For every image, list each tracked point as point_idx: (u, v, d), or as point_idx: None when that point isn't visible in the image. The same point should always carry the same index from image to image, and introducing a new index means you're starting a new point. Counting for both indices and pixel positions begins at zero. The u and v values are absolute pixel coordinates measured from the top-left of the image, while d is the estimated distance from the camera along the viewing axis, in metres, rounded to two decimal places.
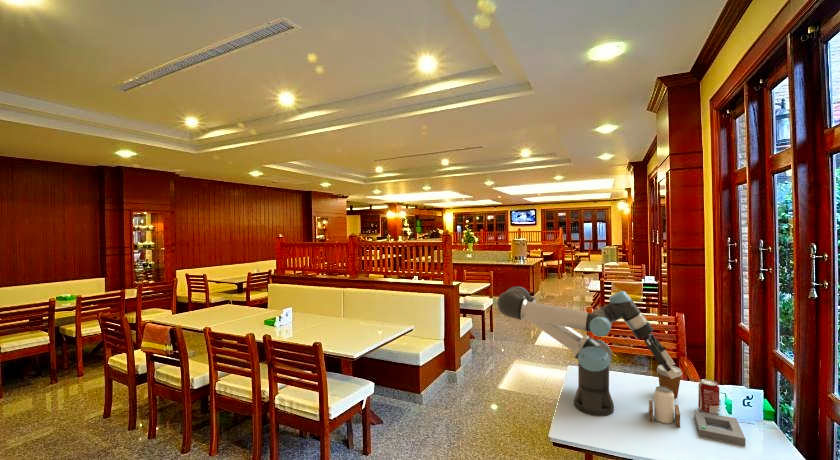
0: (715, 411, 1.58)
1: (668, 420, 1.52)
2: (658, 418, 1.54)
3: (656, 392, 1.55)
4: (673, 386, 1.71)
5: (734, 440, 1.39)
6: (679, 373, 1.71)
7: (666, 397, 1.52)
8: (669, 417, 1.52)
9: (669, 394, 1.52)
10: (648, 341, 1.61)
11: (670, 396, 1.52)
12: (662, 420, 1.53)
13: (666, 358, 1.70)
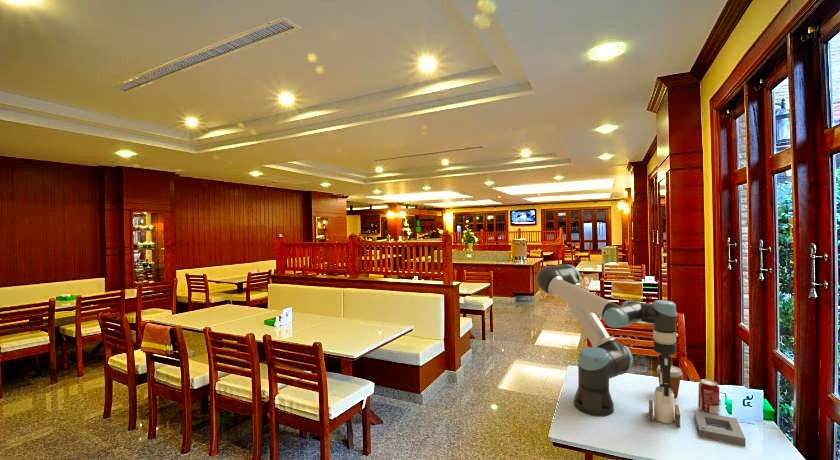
0: (715, 411, 1.58)
1: (668, 420, 1.52)
2: (658, 418, 1.54)
3: (656, 392, 1.55)
4: (673, 386, 1.71)
5: (734, 440, 1.39)
6: (679, 373, 1.71)
7: None
8: (669, 417, 1.52)
9: None
10: (666, 361, 1.48)
11: None
12: (662, 420, 1.53)
13: None
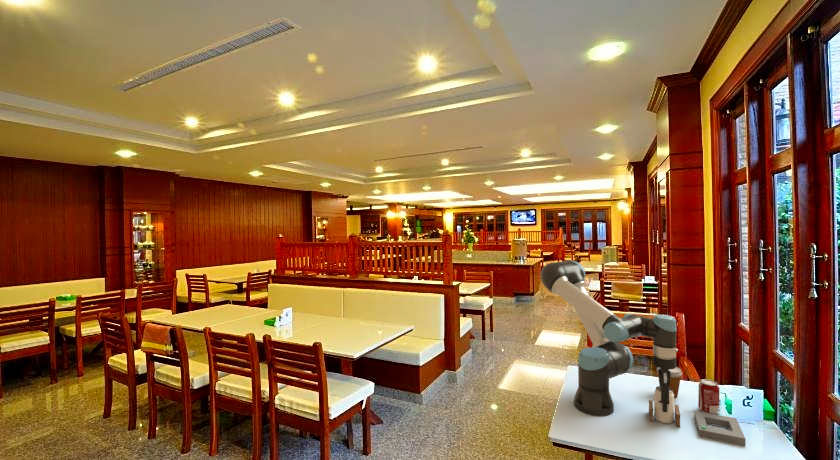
0: (715, 411, 1.58)
1: (668, 420, 1.52)
2: (658, 418, 1.54)
3: (656, 392, 1.55)
4: (673, 386, 1.71)
5: (734, 440, 1.39)
6: (679, 373, 1.71)
7: None
8: (669, 417, 1.52)
9: (669, 394, 1.52)
10: (665, 380, 1.49)
11: (670, 396, 1.52)
12: (662, 420, 1.53)
13: None
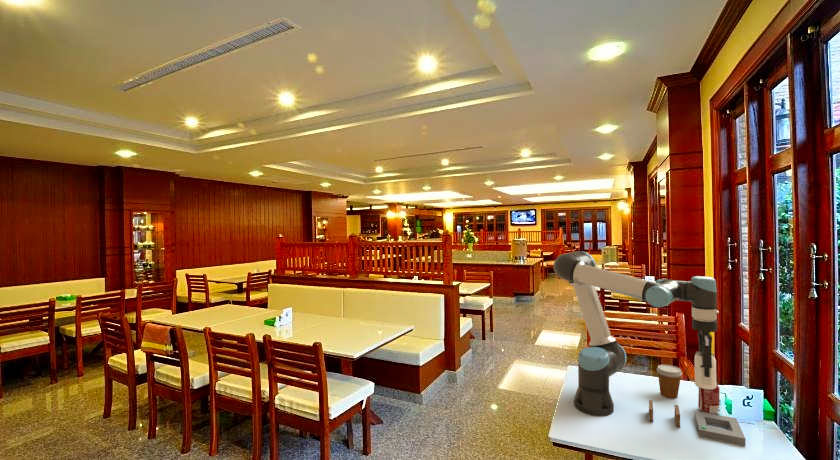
0: (715, 411, 1.58)
1: (711, 385, 1.45)
2: (699, 384, 1.47)
3: (696, 357, 1.48)
4: (673, 386, 1.71)
5: (734, 440, 1.39)
6: (679, 373, 1.71)
7: None
8: (711, 382, 1.45)
9: None
10: (707, 342, 1.42)
11: (712, 360, 1.45)
12: (704, 386, 1.46)
13: None
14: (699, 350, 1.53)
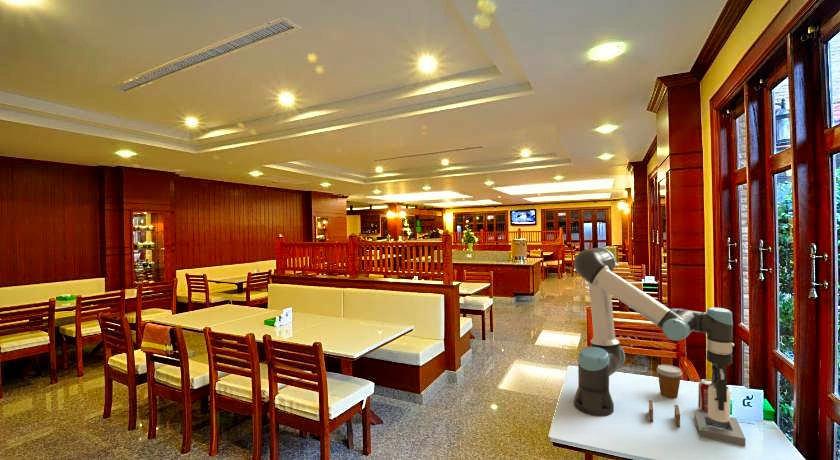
0: None
1: (725, 418, 1.44)
2: (713, 417, 1.46)
3: (710, 389, 1.46)
4: (673, 386, 1.71)
5: (734, 440, 1.39)
6: (679, 373, 1.71)
7: None
8: (725, 415, 1.44)
9: None
10: (722, 376, 1.40)
11: None
12: (718, 419, 1.45)
13: None
14: (712, 381, 1.52)
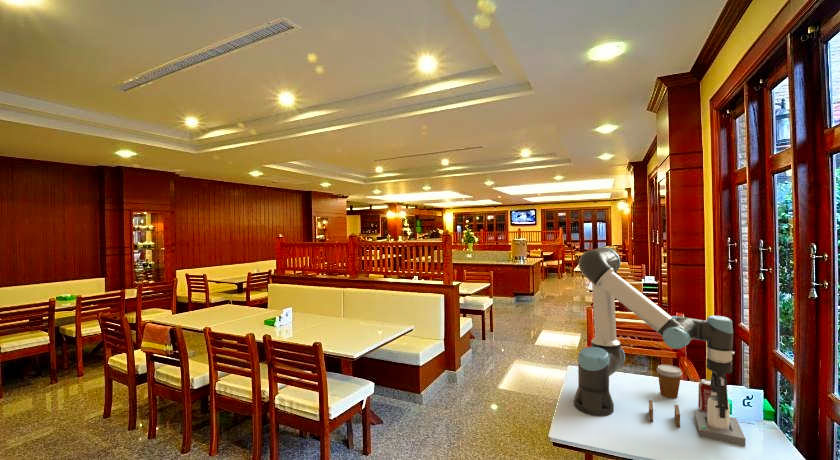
0: None
1: None
2: None
3: (710, 401, 1.47)
4: (673, 386, 1.71)
5: (734, 440, 1.39)
6: (679, 373, 1.71)
7: None
8: (725, 427, 1.44)
9: None
10: (722, 381, 1.40)
11: None
12: None
13: None
14: (711, 383, 1.54)
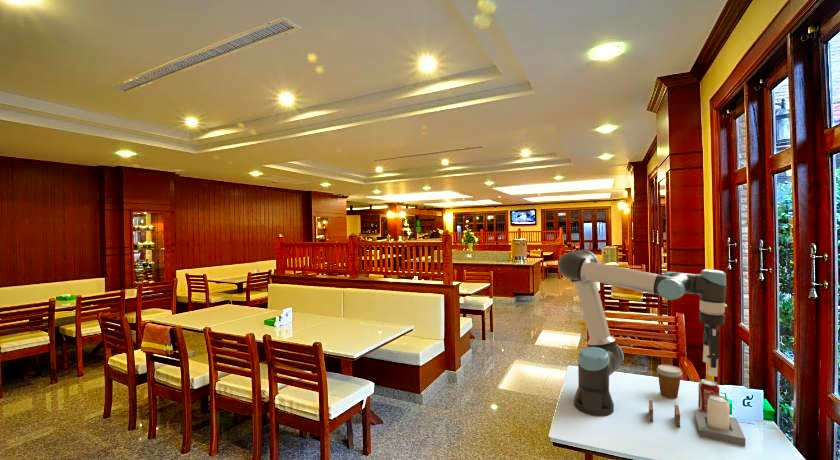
0: None
1: None
2: None
3: (710, 401, 1.47)
4: (673, 386, 1.71)
5: (734, 440, 1.39)
6: (679, 373, 1.71)
7: (722, 407, 1.44)
8: (725, 427, 1.44)
9: (725, 404, 1.44)
10: (714, 331, 1.42)
11: (726, 406, 1.44)
12: None
13: (707, 353, 1.54)
14: (704, 337, 1.56)
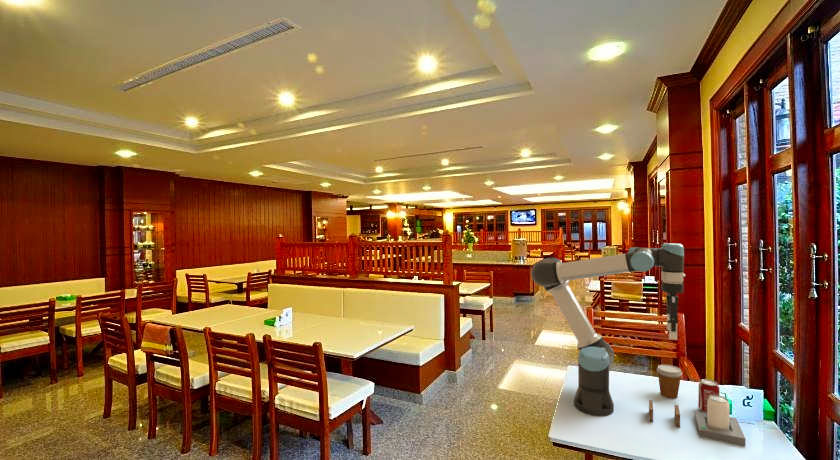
0: None
1: None
2: None
3: (710, 401, 1.47)
4: (673, 386, 1.71)
5: (734, 440, 1.39)
6: (679, 373, 1.71)
7: (722, 407, 1.44)
8: (725, 427, 1.44)
9: (725, 404, 1.44)
10: (673, 298, 1.55)
11: (726, 406, 1.44)
12: None
13: None
14: (667, 306, 1.69)
